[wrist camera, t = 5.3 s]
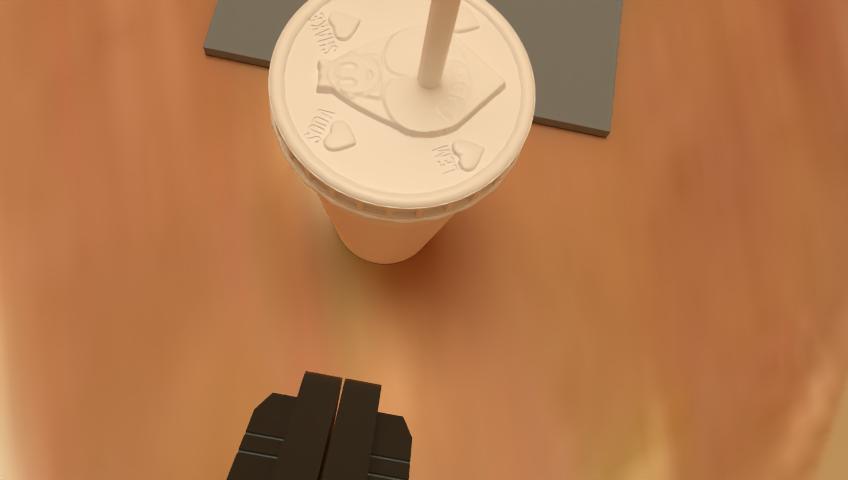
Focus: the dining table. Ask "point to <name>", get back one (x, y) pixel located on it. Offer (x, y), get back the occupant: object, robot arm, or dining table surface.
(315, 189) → the smoothie
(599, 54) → the mat
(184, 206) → the dining table surface
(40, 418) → the dining table surface
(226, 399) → the dining table surface
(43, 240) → the dining table surface
